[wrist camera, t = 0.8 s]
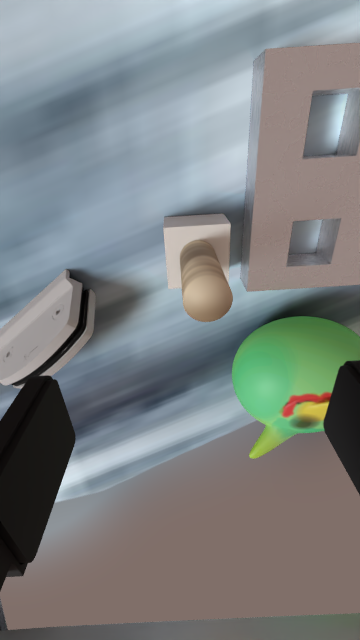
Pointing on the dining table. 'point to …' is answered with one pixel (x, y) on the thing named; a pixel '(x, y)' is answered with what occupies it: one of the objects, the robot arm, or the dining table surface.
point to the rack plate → (301, 171)
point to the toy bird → (291, 375)
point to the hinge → (47, 331)
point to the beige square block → (192, 229)
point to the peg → (203, 282)
